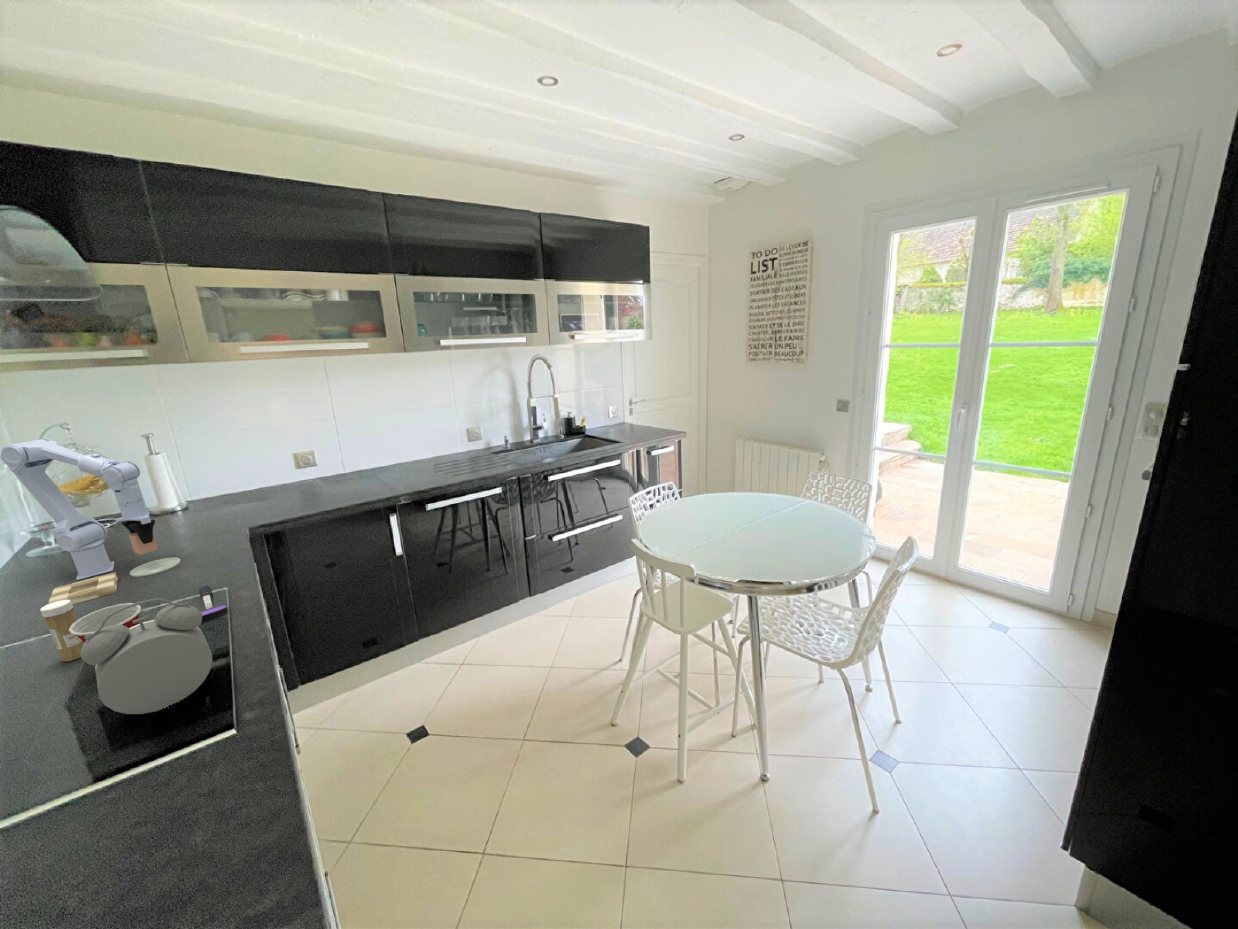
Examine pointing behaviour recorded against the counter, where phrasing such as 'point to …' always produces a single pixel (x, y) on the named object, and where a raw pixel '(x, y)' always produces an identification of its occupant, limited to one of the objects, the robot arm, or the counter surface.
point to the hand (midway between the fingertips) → (144, 541)
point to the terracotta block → (141, 547)
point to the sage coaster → (155, 566)
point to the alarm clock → (149, 659)
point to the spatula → (208, 600)
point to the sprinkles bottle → (63, 628)
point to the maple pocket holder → (86, 589)
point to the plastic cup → (95, 619)
